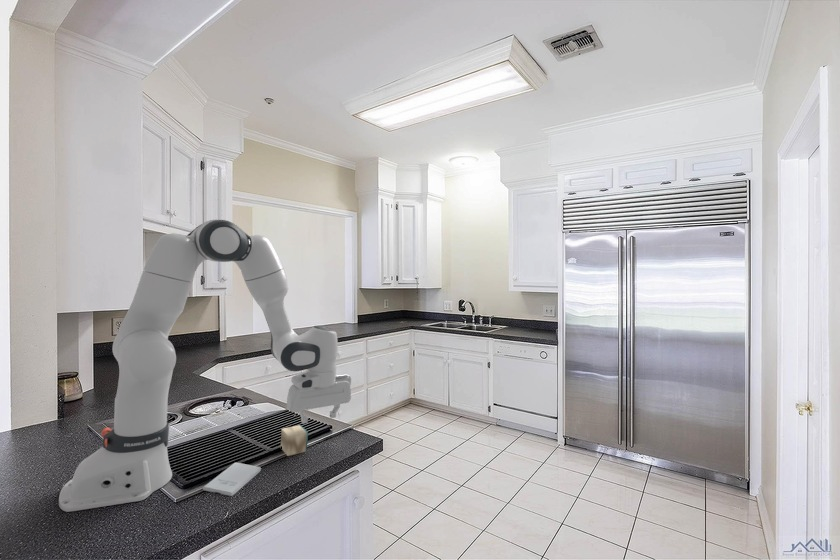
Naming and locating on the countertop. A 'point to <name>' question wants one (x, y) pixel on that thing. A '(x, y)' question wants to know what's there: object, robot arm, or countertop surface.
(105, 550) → the countertop surface
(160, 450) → the robot arm
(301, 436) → the maple cube
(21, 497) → the countertop surface
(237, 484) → the external hard drive
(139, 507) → the countertop surface
